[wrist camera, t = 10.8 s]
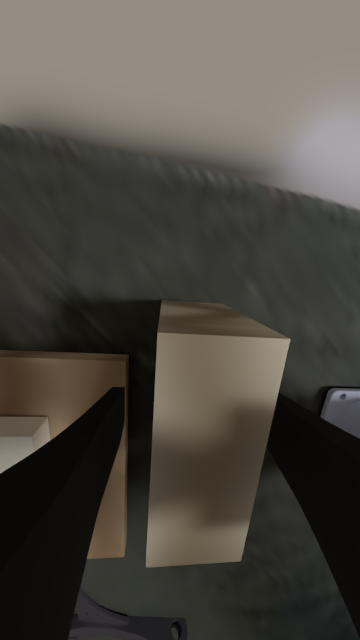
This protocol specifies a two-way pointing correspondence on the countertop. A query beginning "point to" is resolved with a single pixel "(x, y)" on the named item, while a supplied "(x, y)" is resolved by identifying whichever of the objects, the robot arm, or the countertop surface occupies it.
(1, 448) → the tile
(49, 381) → the cork mat
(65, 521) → the robot arm
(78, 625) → the bracket
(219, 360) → the tan mottled block
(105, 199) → the countertop surface
